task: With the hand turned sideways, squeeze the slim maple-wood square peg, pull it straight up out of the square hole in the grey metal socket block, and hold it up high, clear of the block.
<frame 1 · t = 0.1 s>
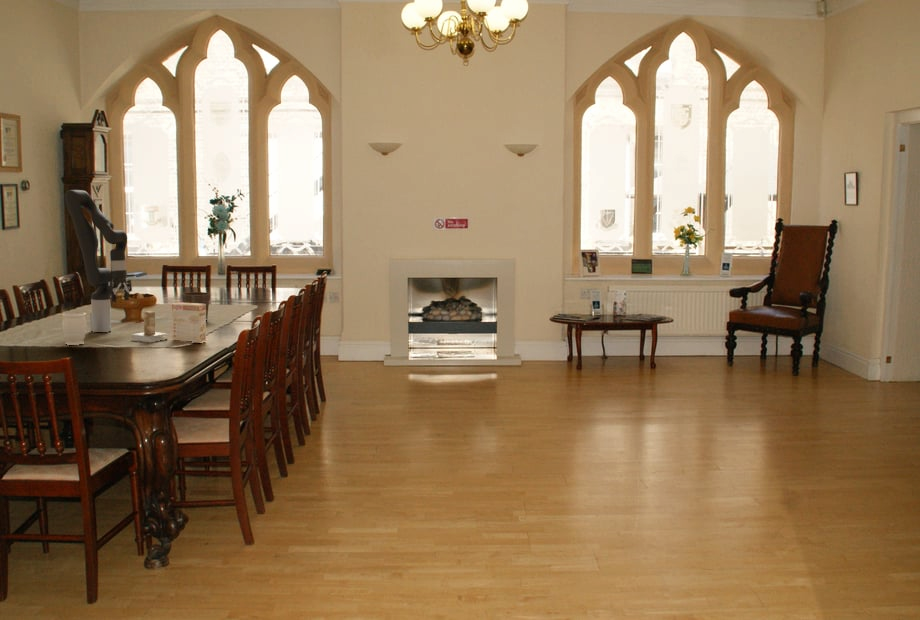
hand: (120, 301, 456), 17 cm above the table, tool pointing down, fingers open, 8 cm apart
coffeecake box: (189, 342, 441), on the table
peg: (149, 339, 438), point 1 cm above the table, touching socket block
socket block: (149, 341, 439), on the table
jar: (74, 344, 425), on the table
plant pot: (196, 321, 511), on the table
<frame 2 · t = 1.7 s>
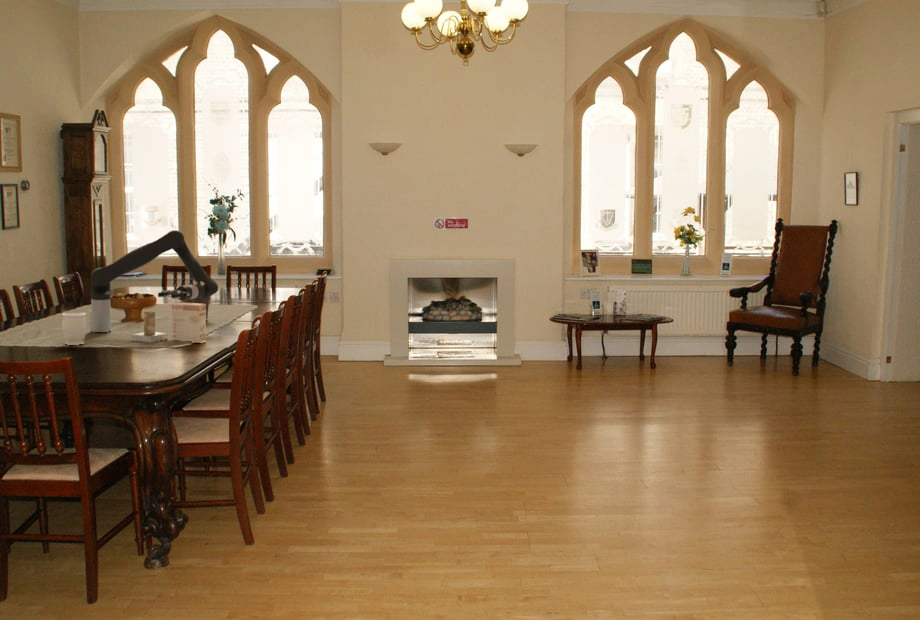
hand: (165, 295, 446), 22 cm above the table, tool horizontal, fingers open, 8 cm apart
nothing on the table moved.
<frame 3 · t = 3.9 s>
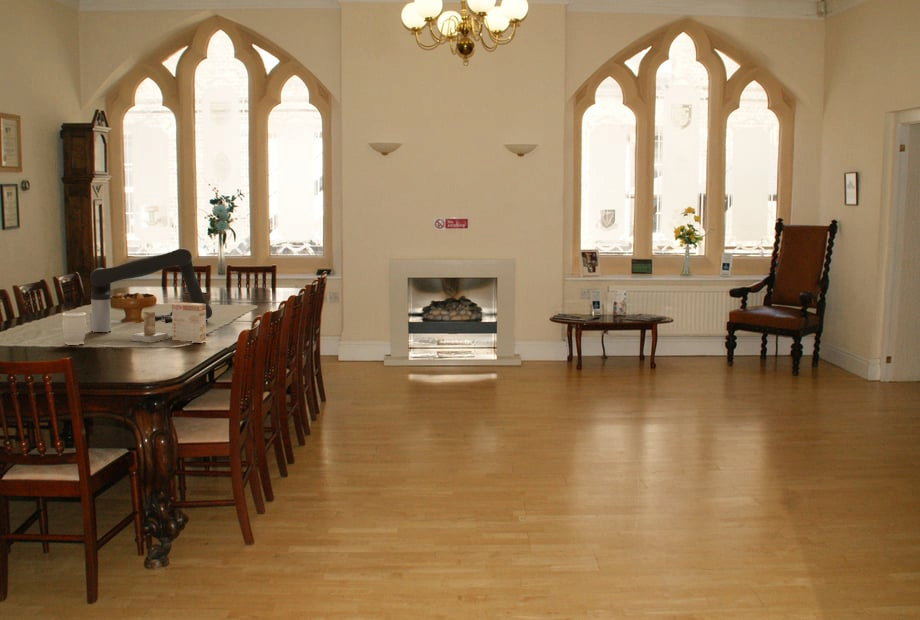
hand: (158, 320, 443), 10 cm above the table, tool horizontal, fingers open, 8 cm apart
nothing on the table moved.
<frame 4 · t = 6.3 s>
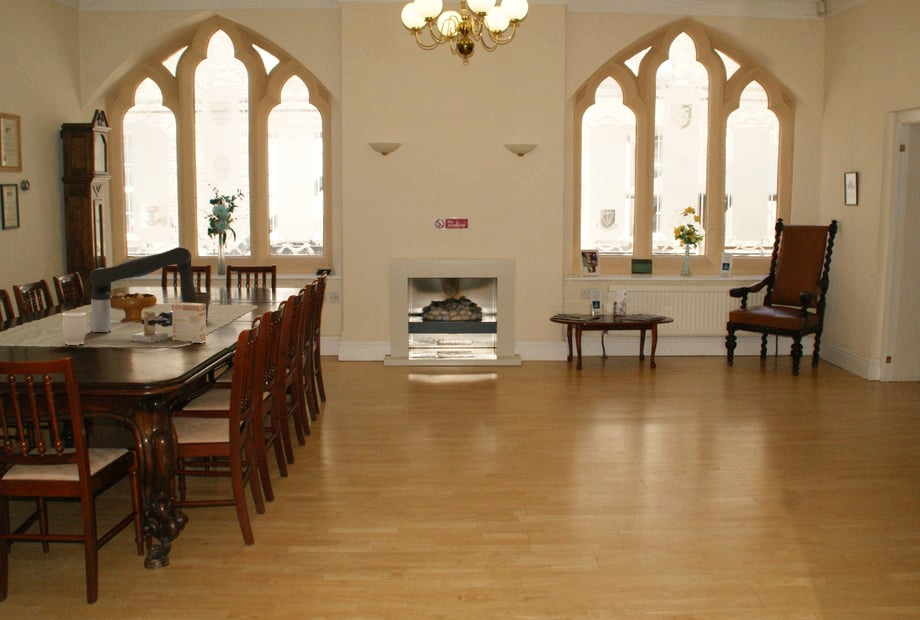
hand: (145, 322, 435), 10 cm above the table, tool horizontal, fingers closed on peg, 3 cm apart
peg: (149, 339, 438), point 1 cm above the table, touching gripper, socket block
everything else where it was.
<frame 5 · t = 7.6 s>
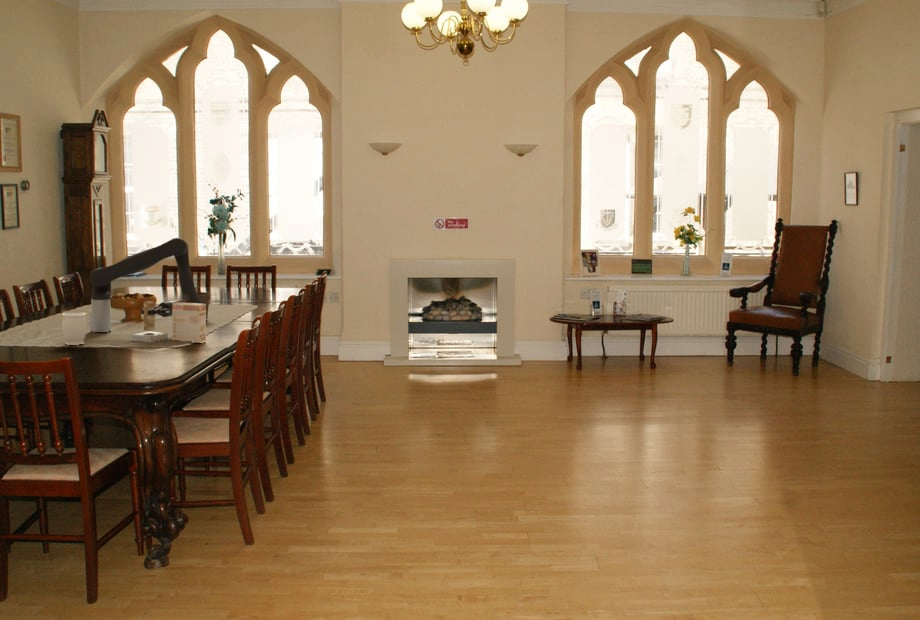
hand: (145, 312, 434), 15 cm above the table, tool horizontal, fingers closed on peg, 3 cm apart
peg: (149, 330, 438), point 6 cm above the table, touching gripper
everything else where it was.
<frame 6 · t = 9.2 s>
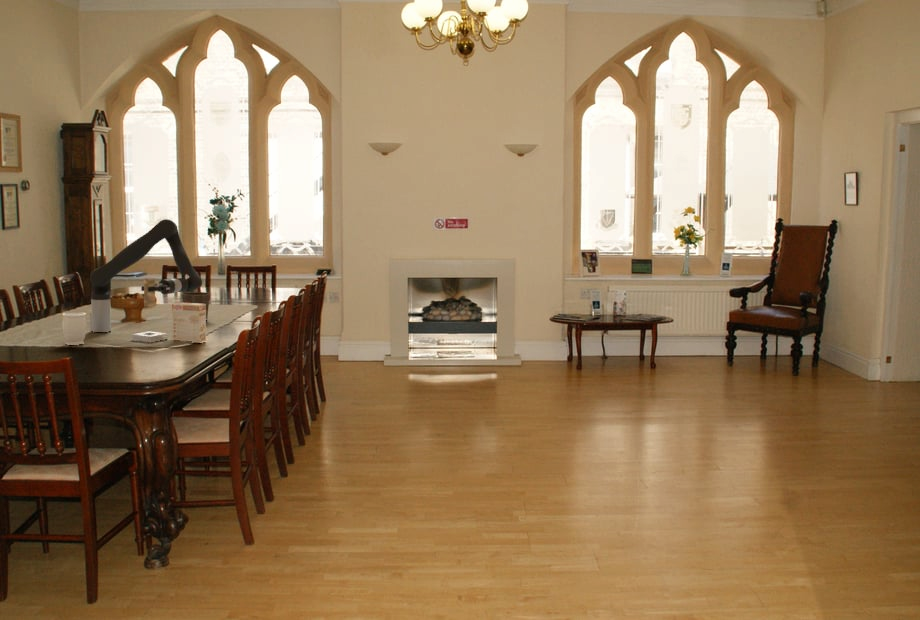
hand: (145, 289, 434), 26 cm above the table, tool horizontal, fingers closed on peg, 3 cm apart
peg: (149, 306, 438), point 17 cm above the table, touching gripper
everything else where it was.
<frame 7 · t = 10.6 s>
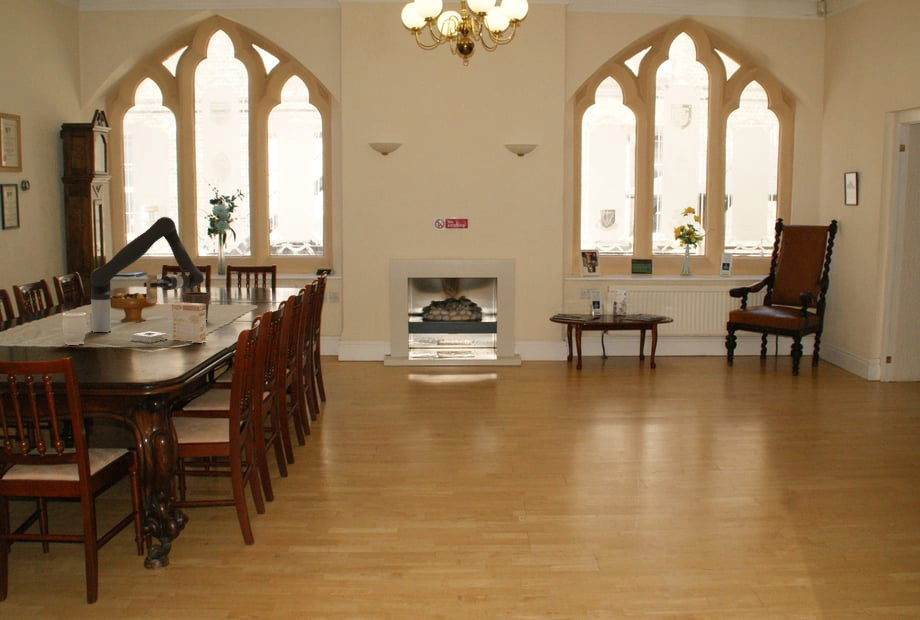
hand: (147, 285, 438), 28 cm above the table, tool horizontal, fingers closed on peg, 3 cm apart
peg: (152, 302, 442), point 19 cm above the table, touching gripper
everything else where it was.
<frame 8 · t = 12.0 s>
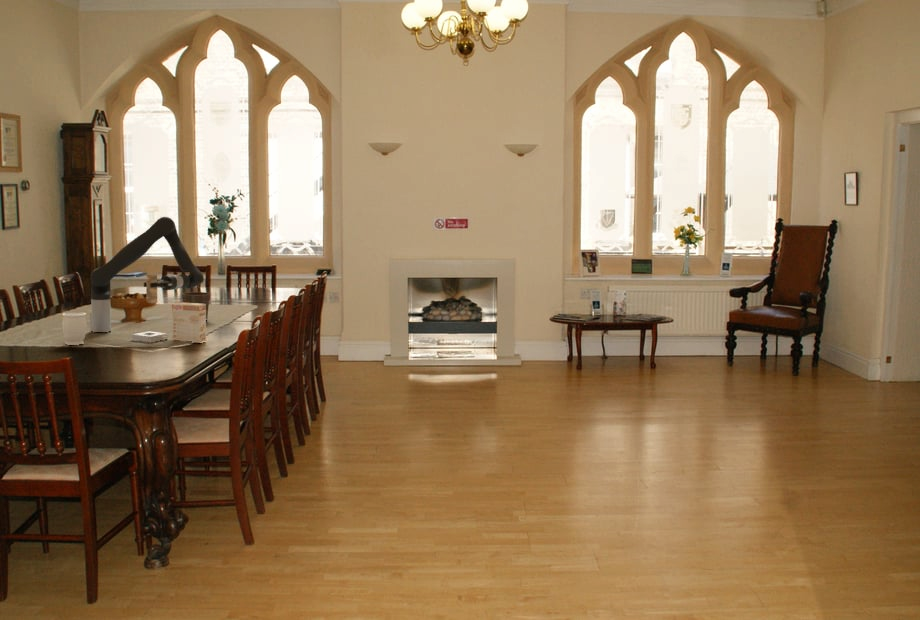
hand: (147, 285, 438), 28 cm above the table, tool horizontal, fingers closed on peg, 3 cm apart
peg: (152, 302, 442), point 19 cm above the table, touching gripper
everything else where it was.
at the end: the gripper is holding peg; peg point 18.8 cm above the table; peg tilted 0° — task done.
